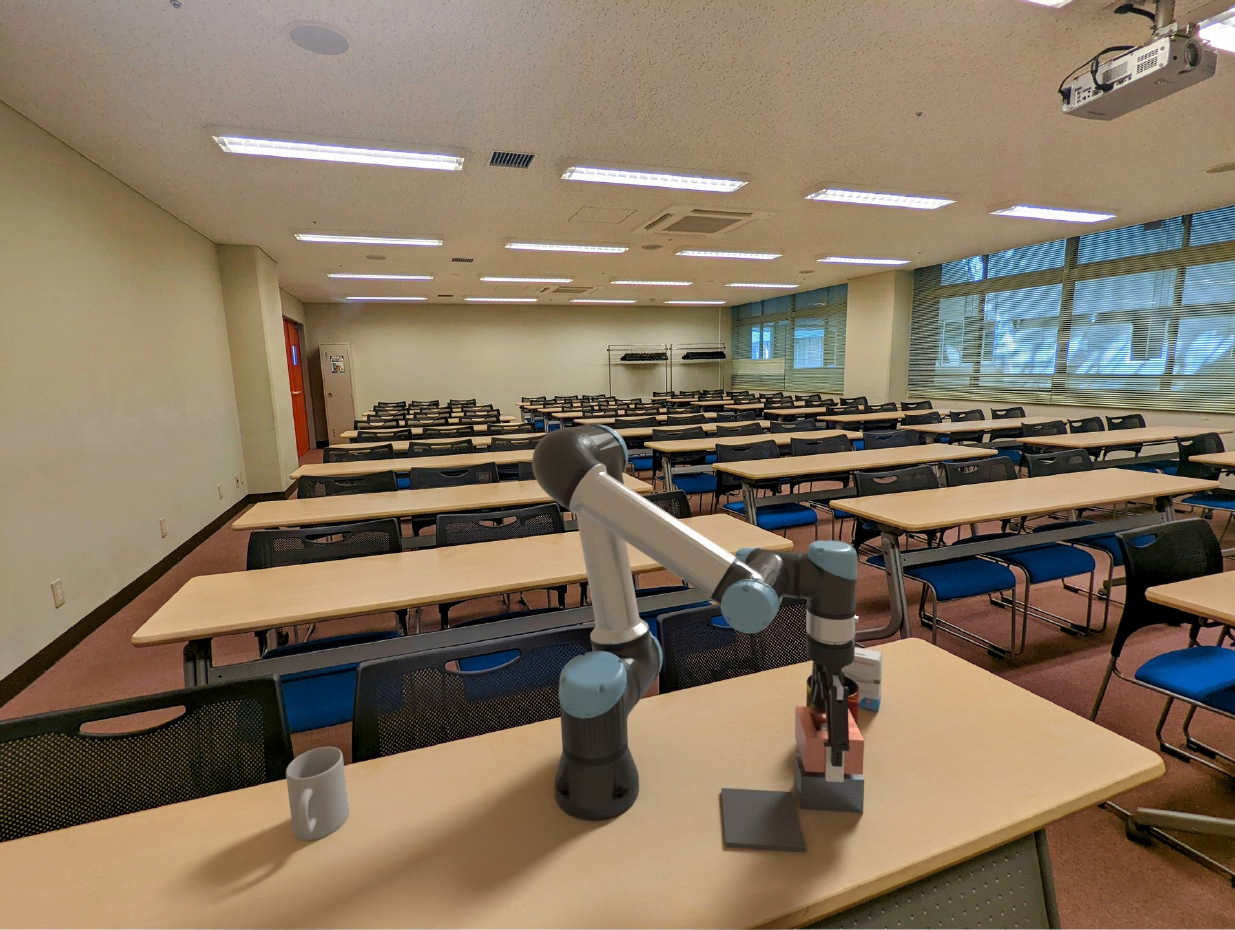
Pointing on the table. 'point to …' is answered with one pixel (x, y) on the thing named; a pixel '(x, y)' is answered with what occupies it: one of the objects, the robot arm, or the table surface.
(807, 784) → the toggle switch
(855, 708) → the mug
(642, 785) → the table surface
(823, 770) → the red square hollow block
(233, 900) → the table surface
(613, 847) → the table surface
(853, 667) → the ink box
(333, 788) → the mug
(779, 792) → the mat
